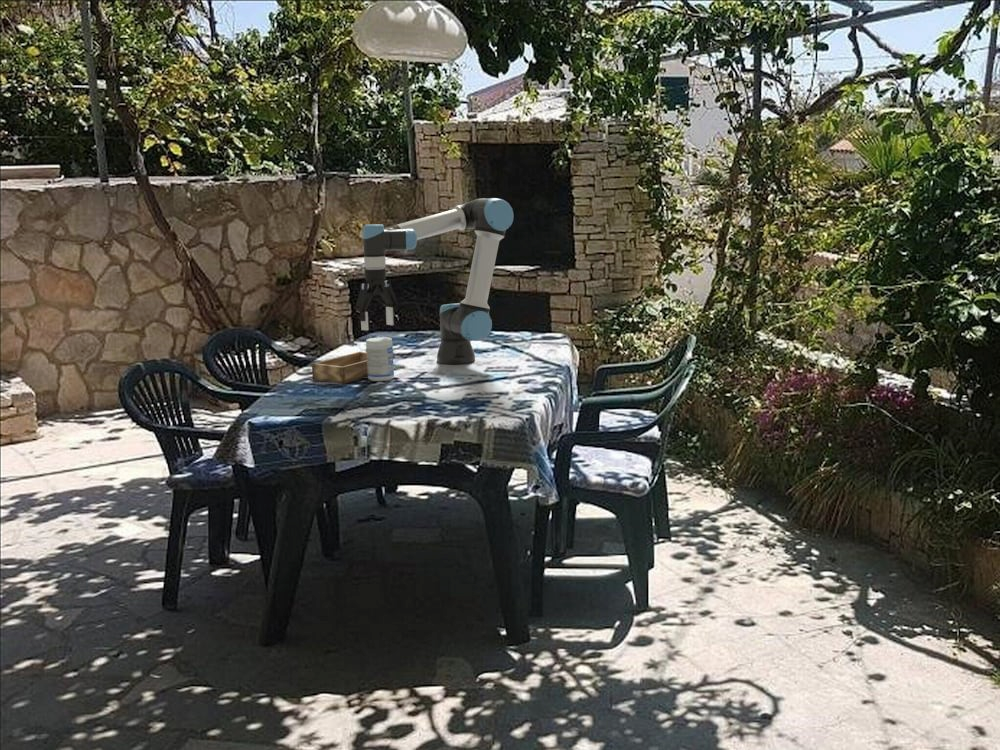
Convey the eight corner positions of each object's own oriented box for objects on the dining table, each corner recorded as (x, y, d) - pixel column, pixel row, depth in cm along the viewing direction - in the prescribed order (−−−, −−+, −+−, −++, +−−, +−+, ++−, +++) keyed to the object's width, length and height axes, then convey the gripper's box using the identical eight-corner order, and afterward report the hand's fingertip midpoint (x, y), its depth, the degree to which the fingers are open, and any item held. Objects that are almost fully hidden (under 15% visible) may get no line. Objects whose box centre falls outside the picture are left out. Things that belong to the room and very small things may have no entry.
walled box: (390, 370, 335) (389, 355, 334) (343, 383, 314) (342, 367, 313) (360, 366, 343) (359, 351, 342) (312, 379, 322) (311, 363, 321)
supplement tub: (395, 380, 318) (393, 340, 315) (369, 382, 316) (367, 342, 313) (392, 375, 327) (390, 336, 324) (366, 377, 325) (364, 337, 322)
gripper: (389, 265, 325) (392, 322, 330) (342, 271, 305) (346, 331, 310) (405, 265, 321) (407, 323, 326) (359, 271, 301) (361, 333, 306)
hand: (377, 327), depth 318 cm, fingers open, 13 cm apart
